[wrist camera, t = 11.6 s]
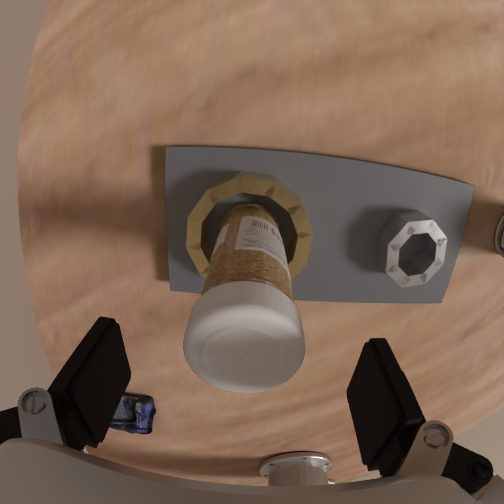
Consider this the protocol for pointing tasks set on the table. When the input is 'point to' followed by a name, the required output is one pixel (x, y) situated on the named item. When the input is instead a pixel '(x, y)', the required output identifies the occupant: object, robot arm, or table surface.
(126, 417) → the snack package
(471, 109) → the table surface
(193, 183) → the mounting board
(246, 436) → the table surface
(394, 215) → the steel collar
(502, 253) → the pill bottle
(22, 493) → the robot arm
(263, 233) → the sprinkles bottle
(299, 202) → the brass collar
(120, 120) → the table surface
